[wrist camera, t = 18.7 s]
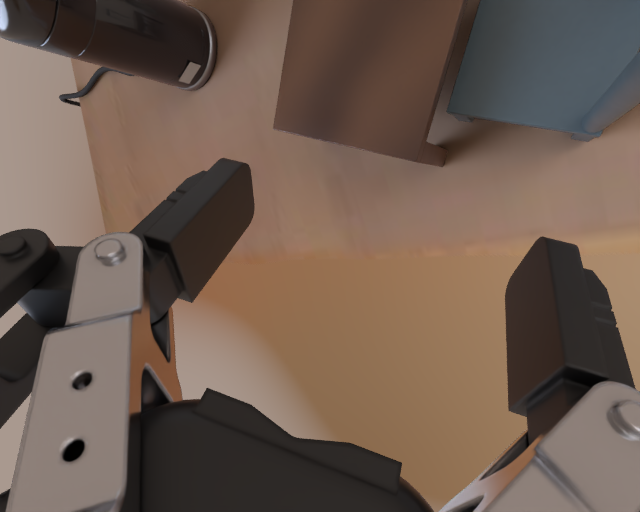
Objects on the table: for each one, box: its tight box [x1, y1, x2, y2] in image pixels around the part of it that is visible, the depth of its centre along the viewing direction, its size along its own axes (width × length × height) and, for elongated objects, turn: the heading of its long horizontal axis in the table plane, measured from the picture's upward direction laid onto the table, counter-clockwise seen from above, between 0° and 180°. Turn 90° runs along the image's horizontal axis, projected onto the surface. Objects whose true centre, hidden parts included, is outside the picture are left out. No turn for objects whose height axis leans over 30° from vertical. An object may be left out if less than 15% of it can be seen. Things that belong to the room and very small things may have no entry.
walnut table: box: [273, 0, 467, 167], centre depth 28 cm, size 13×18×9 cm
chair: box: [447, 0, 640, 142], centre depth 18 cm, size 10×10×21 cm
